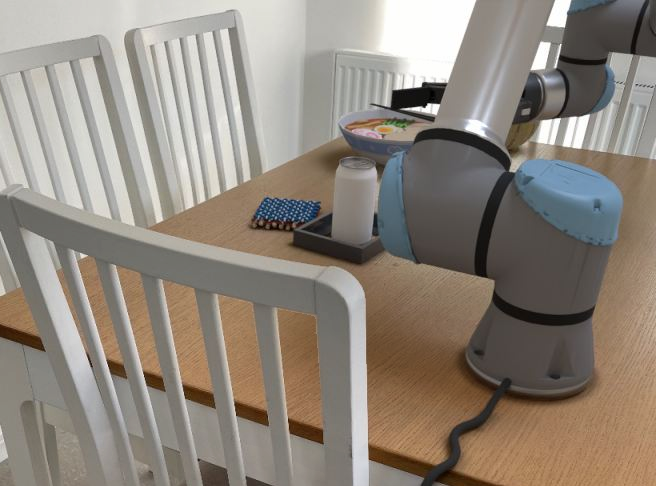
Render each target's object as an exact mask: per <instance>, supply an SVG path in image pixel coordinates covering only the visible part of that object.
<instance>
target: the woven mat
mask: <svg viewBox="0 0 656 486" xmlns="http://www.w3.org/2000/svg"><path fill="white" fill-rule="evenodd" d="M321 205H322V201H320V200H319V201H315V200H312V199H310V200H306V201H305V200H304V199H300V200H299V199H294V198H291V199H290V198H287V197H285V198H279V197H269V196H267V197H263V199H262V201H261V202H260V204H259V205H258V208H257V209H256V211H255V213H254V214H253V215H252V218H251V222H252V228H253V229H255V228H256V227H257V226H258V225H259V226H261V227H263V226H265V227H264V228H265V229H266V230H269V229H270V227H271V226H272V227H273V228H277V227H278V228H279V230H283V229H284V226H285V225H286V227H285V231H290V229H291V228H292V230H294V229H296V228H298V227H300V226H302V225H304V224H306V223H307V222H309V221H311V220H313V219H315V218H317V217H319V214H320V211H321V210H322V206H321Z"/></svg>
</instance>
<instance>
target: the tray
mask: <svg viewBox="0 0 656 486" xmlns="http://www.w3.org/2000/svg"><path fill="white" fill-rule="evenodd" d="M332 218H333V208H331V209H330V210H328V211H326V212H324V213H323V214H321V215H318V216H317V218H315V219H313V220H311V221H309V222H307V223H306V224H304V225H302V226H299V227H297V228H294V229H293V237H292V245H293V246H297V247H300V248H304V249H307V250H311V251H314V252H318V253H321V254H325V255H327V256H331V257H336V258H339V259H341V260H346V261H349V262H353V263H357V264H360V265H362V264H364V263H365V262H367V261H369V260H371V259H373V257H375V256H376V255H379V254H380V253H381V252H383V251H385V250H386V249H385V248H384V246H383V245H382V242H381V239H380V236H379V231H378V219H377V211H374V217H373V227H372V235H373V236H375V237H373V238H371V240H370V241H369V242H367V243H365V244H364V245H362V246H358V245H354V244H351V243H347V242H344V241H340V240H336V239H333V238H332V237H329V235H332Z"/></svg>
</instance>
